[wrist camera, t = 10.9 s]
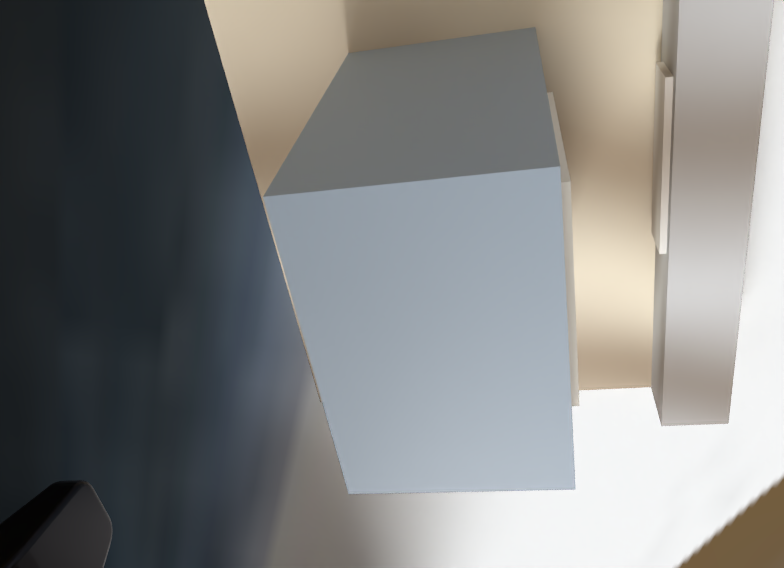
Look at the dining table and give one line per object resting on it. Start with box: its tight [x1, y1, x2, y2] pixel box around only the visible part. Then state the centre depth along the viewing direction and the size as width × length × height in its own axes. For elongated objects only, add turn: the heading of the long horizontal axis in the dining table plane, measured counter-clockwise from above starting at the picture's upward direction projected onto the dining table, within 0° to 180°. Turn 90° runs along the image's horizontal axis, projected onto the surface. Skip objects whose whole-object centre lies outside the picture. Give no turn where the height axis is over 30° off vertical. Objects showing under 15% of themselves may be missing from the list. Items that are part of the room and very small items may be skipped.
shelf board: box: [204, 0, 774, 426], centre depth 17 cm, size 14×11×2 cm
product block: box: [263, 27, 579, 494], centre depth 14 cm, size 4×6×7 cm
